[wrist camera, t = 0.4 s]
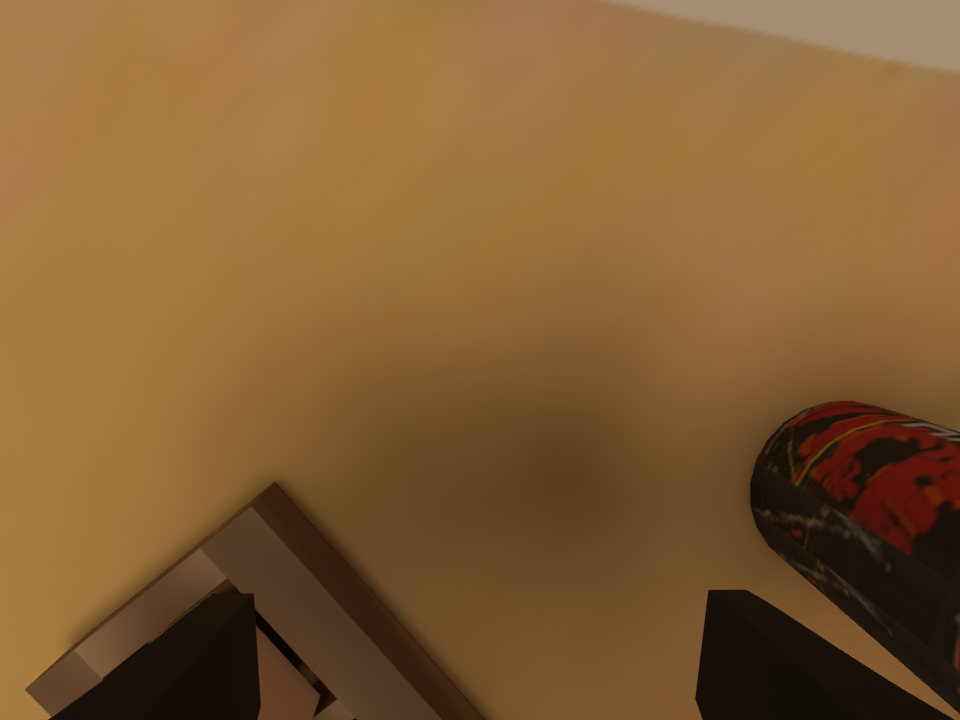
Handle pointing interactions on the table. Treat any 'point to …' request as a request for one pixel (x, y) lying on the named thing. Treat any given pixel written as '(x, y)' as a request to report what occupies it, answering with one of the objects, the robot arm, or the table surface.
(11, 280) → the table surface
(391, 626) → the socket board
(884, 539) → the deodorant
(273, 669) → the terracotta key
